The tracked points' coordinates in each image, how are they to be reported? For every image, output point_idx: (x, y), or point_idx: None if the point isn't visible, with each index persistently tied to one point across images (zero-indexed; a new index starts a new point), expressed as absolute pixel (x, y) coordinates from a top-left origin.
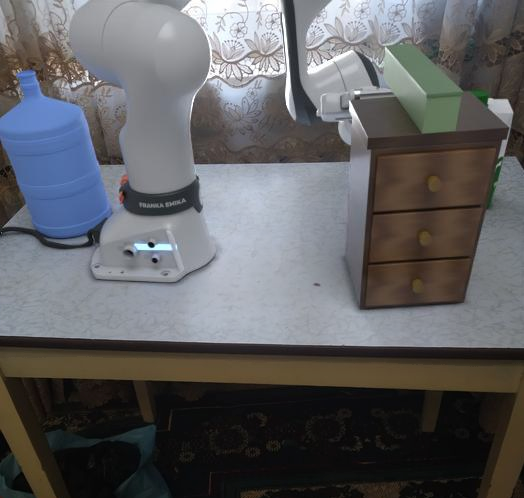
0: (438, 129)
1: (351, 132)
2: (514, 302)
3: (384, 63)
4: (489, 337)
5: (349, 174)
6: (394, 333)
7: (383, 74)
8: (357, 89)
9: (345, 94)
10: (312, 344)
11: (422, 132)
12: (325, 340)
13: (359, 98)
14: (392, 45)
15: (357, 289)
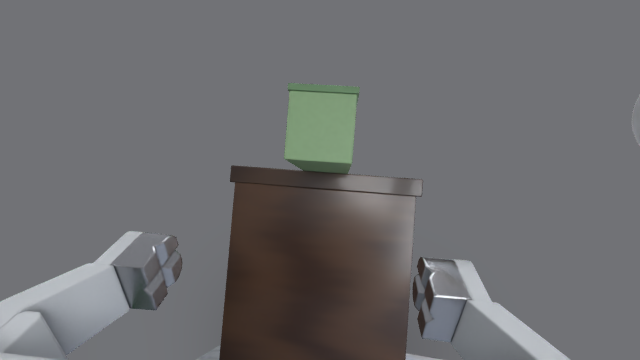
0: None
1: (413, 231)
2: (207, 356)
3: (354, 127)
4: None
5: (408, 305)
6: None
7: (352, 152)
8: (434, 258)
9: (533, 338)
10: (420, 356)
11: None
12: (409, 357)
13: (415, 289)
14: (340, 86)
15: None
